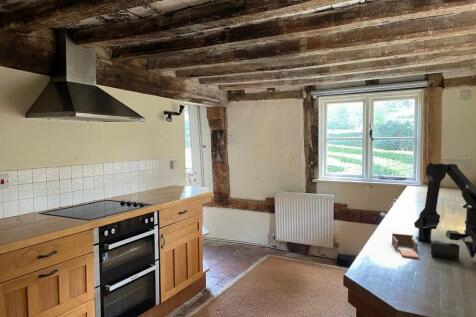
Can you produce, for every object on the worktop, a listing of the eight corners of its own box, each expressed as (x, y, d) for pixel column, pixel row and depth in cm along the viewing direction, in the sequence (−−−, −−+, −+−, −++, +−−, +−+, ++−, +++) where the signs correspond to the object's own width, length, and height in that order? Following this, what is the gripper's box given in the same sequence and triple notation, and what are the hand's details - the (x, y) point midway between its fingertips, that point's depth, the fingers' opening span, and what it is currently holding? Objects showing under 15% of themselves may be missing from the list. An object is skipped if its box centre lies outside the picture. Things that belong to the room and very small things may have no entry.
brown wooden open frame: (391, 243, 160) (392, 233, 160) (411, 245, 158) (412, 235, 157) (395, 250, 150) (396, 239, 149) (417, 252, 147) (417, 241, 147)
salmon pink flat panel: (398, 248, 149) (402, 254, 141) (415, 250, 147) (419, 257, 139) (398, 250, 149) (402, 256, 141) (415, 252, 147) (419, 258, 139)
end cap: (430, 258, 141) (431, 242, 141) (430, 253, 147) (431, 238, 147) (458, 263, 136) (459, 246, 135) (457, 258, 142) (458, 242, 141)
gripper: (455, 222, 133) (453, 261, 133) (510, 227, 127) (507, 267, 128) (446, 217, 143) (444, 252, 144) (497, 221, 138) (494, 257, 139)
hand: (471, 257), depth 139 cm, fingers closed
